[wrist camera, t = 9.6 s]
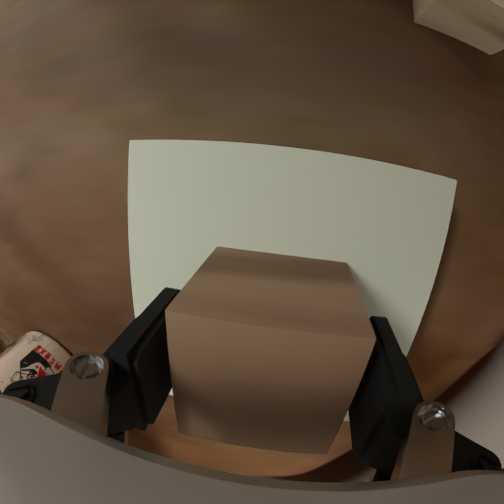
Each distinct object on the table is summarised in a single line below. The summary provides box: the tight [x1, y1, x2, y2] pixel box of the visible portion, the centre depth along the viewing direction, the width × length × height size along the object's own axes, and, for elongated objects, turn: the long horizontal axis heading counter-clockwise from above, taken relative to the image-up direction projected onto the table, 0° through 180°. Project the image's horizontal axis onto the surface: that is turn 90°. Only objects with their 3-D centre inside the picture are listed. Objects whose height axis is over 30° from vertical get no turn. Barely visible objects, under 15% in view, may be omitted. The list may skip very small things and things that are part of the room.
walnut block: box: [165, 246, 376, 454], centre depth 10 cm, size 5×5×5 cm
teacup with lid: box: [0, 326, 71, 393], centre depth 15 cm, size 12×9×12 cm
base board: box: [128, 140, 457, 421], centre depth 13 cm, size 13×13×3 cm
